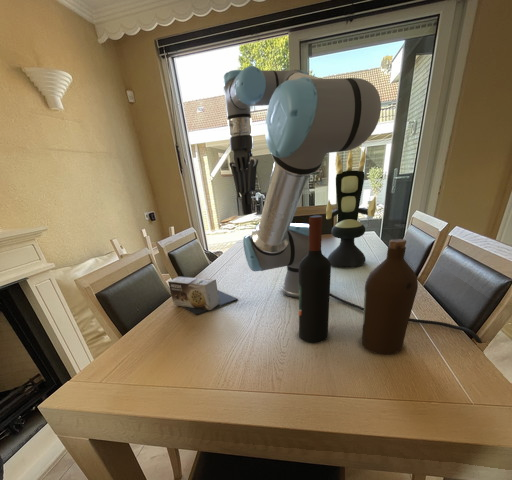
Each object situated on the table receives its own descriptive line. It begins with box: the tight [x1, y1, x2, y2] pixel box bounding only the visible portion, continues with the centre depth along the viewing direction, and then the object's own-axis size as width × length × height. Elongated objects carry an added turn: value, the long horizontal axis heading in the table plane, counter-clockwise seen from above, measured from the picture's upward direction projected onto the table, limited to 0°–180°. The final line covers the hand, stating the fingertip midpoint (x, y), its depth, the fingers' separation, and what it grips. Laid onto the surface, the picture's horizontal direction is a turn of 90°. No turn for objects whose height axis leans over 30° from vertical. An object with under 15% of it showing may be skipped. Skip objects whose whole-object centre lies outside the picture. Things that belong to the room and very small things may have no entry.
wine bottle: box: [298, 215, 332, 344], centre depth 71 cm, size 8×8×30 cm
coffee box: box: [167, 275, 220, 311], centre depth 101 cm, size 9×6×16 cm
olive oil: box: [361, 238, 419, 355], centre depth 66 cm, size 11×11×25 cm
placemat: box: [181, 290, 239, 316], centre depth 105 cm, size 14×17×1 cm
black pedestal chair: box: [325, 145, 377, 269], centre depth 122 cm, size 19×22×45 cm
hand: (247, 214), depth 106 cm, fingers closed
